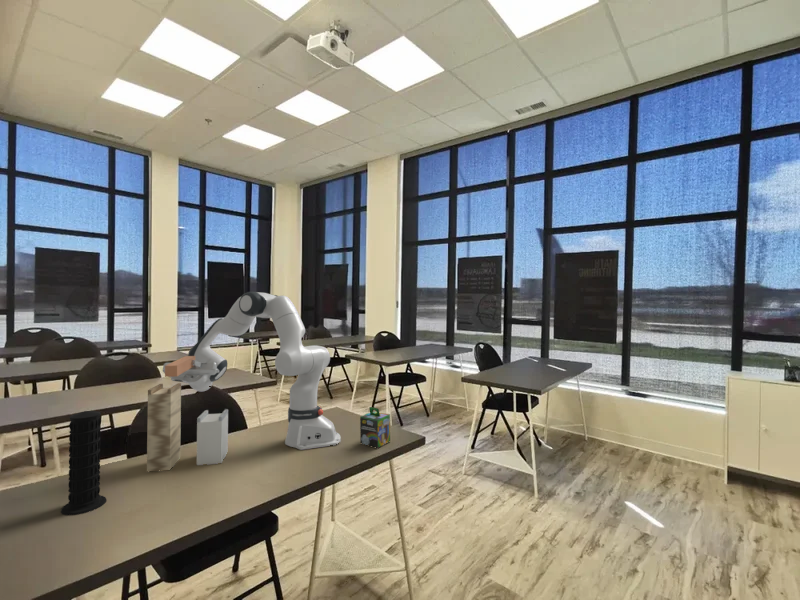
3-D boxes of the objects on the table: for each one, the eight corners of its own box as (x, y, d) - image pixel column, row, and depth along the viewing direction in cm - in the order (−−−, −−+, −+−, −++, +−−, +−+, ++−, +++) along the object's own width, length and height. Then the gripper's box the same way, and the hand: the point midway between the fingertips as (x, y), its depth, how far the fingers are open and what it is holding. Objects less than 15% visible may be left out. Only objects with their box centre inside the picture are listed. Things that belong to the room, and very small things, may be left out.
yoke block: (227, 452, 147) (228, 409, 147) (221, 463, 138) (221, 416, 138) (204, 454, 146) (205, 410, 146) (196, 465, 136) (197, 418, 136)
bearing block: (180, 458, 141) (181, 383, 141) (169, 470, 131) (170, 389, 132) (158, 460, 140) (159, 383, 140) (146, 472, 130) (147, 390, 130)
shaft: (195, 365, 163) (195, 355, 163) (177, 376, 142) (177, 365, 142) (184, 365, 163) (184, 356, 162) (164, 376, 141) (165, 365, 141)
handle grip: (50, 514, 104) (87, 515, 104) (51, 416, 104) (88, 416, 104) (81, 496, 114) (115, 496, 114) (82, 405, 114) (116, 406, 114)
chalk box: (390, 442, 160) (391, 406, 160) (377, 449, 153) (378, 411, 153) (372, 437, 165) (373, 403, 165) (359, 444, 158) (359, 407, 158)
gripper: (219, 379, 170) (212, 368, 158) (167, 381, 166) (156, 369, 154) (221, 365, 173) (214, 354, 162) (170, 367, 169) (160, 355, 157)
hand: (186, 361), depth 158 cm, fingers closed on shaft, 4 cm apart
